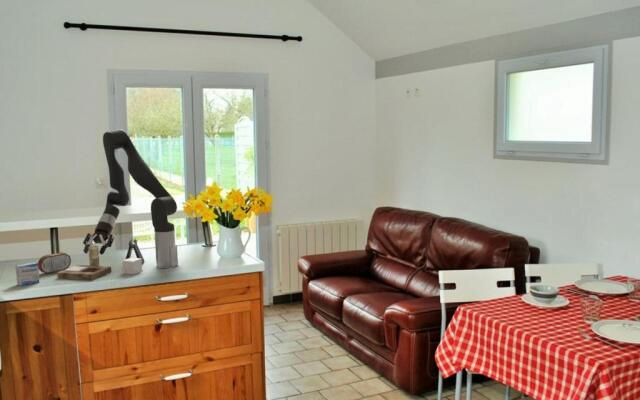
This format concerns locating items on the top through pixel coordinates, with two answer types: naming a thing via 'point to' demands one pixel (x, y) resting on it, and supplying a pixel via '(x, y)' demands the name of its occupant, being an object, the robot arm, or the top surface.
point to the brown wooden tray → (85, 272)
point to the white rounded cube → (132, 265)
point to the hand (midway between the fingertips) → (92, 253)
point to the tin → (54, 262)
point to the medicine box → (27, 273)
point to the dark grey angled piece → (136, 249)
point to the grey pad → (75, 268)
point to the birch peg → (94, 256)
